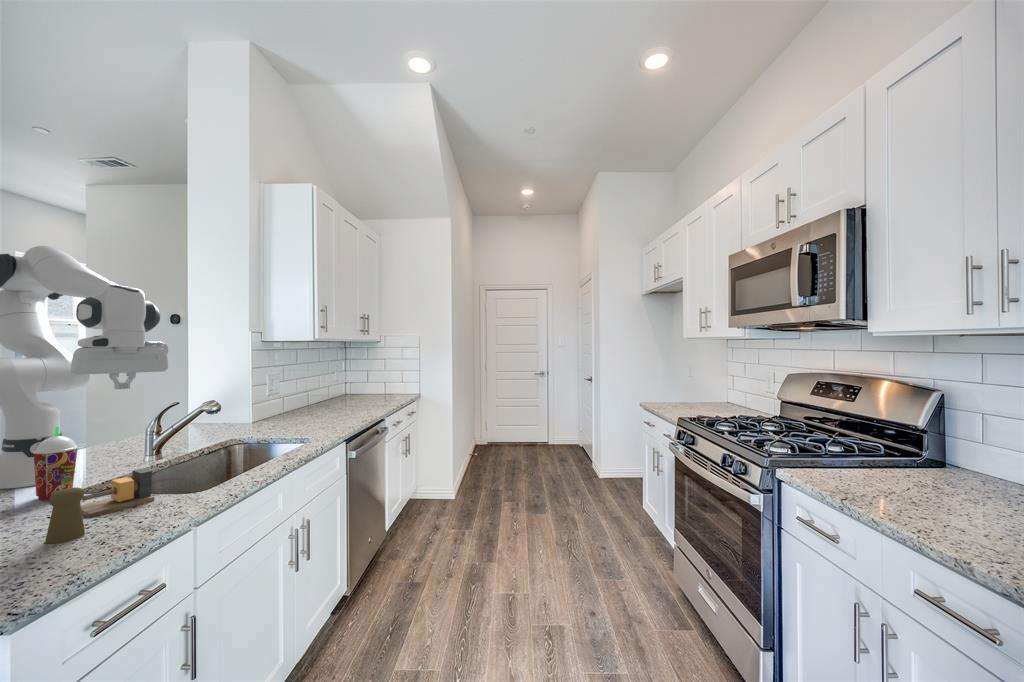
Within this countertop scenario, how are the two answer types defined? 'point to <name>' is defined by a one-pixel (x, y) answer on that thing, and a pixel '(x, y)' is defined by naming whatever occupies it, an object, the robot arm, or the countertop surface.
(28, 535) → the countertop surface
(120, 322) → the robot arm
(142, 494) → the sliding block toy
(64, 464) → the smoothie
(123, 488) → the sleeve
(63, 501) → the cork
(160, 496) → the countertop surface
